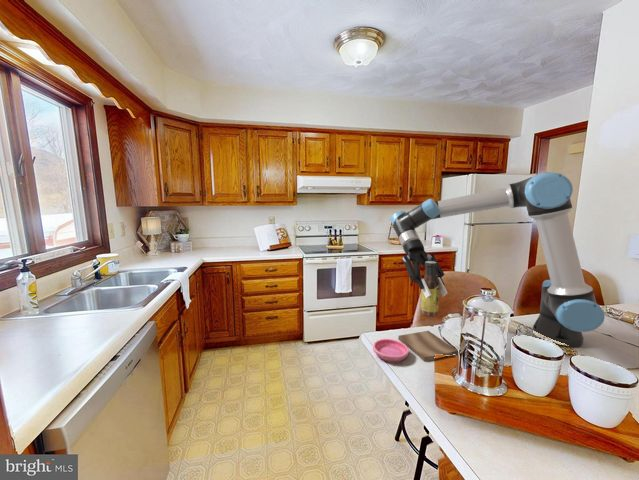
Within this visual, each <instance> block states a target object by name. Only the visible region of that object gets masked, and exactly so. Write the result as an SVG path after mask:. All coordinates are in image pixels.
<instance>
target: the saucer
mask: <svg viewBox="0 0 639 480" xmlns="http://www.w3.org/2000/svg"><path fill="white" fill-rule="evenodd" d="M372 350H373V351H374V353H375V355H377V356H378V358H380V360H383V361H385V362H389V363H399V362H402V361H403V360H404V359H406V358H407V357H408V356H409V354H410V349H409V348H408V347H407V346H406V345H405V344H404V343H402V342H401V341H400V340H397V339H393V338H382V339H379V340H376V341H374V342H373V345H372Z"/></svg>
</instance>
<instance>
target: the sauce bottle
mask: <svg viewBox="0 0 639 480" xmlns="http://www.w3.org/2000/svg"><path fill="white" fill-rule="evenodd" d="M437 262H438V261H437ZM437 262H434V261H426V262H425V267H424V269H425V271H424V273H425V274H424V275H423V276H422V277H421V279H424V280H425V282H426V284H427V286H428V289H429V291H430V293H431V296H430V297H429V298H425V295H424V293H423V291H422V289H420V313H421V314H422V315H423V316H426V317H430V318H431V317H432V318H433V317H437V316H438V315H439V306H440V305H439V303H440V292H439V281H438V278H437V275H436V266H437Z"/></svg>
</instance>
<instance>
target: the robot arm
mask: <svg viewBox="0 0 639 480" xmlns="http://www.w3.org/2000/svg"><path fill="white" fill-rule="evenodd" d="M573 189H574V188H573V184H572V182H571V180H570V179H569V178H568V177H567V176H566V175H563V174H562V173H559V172H553V171H551V172H548V171H547V172H541V173H539V174H536V175H533V176H530V177H528V178H526V179H523V180H520V181H517V182H513V183H508V184H507V185H506V186H505V187H502V188H497V189H496V188H495V189H491V190H487V191H486V190H485V191H482V192H477V193H472V194H467V195H462V196H456V197H452V198H447V199H443V200H438V201H435V200H434V199H433V198H428V199H426V200H425V201H423V202H422V203H420V204H418V205H417V206H416V207H414V208H412V209H411V210H409V211H408V212H406V211H404V210H400V211H396V212H395V213H393V214H392V215H391V218H390V222H391V224H392V228H393V230H394V232H395V234H396V235H397V237H398V240H399V242H400V244H401V247H402V249H403V251H404V254H405V255H404V256H403V257H402V258H401V261H402V262H403V264H404V266H405V269H406V273H408V278H409V280H410V282H413V281H414V283H415V284H417V285H418V288H419V289H420V290H421V289H422V291H423V293H424V295H425V298H429V297H430V296H431V293H430V291H429V289H428V286H427V284H426V282H425V280H424V279H422V273H421V266H423V268H425V262H426V261H434V262H437V266H436V275H437V278H438V281H439V295H441V297H445V296H446V295H447V294H448V293H449V292H448V291H447V289H446V286H445V285H446V284H445V282H444V280H443V279H442V278H443V277H444V276H445V272H444V271H443V269H442V268H441V266H440V264H439V262H438V261H437V259H436V257H435V254H434V253H431V254H429V253H427V252H426V251H425V246H424V243H423V242H422V240H421V238H420V236H419V234H418V233H417V230H416V229H417V228H418V227H420V226H422V225H424V224H425V223H428V222H429V221H431V220H436V219H441V218H447V217H452V216H459V215H465V214H470V213H471V214H472V213H476V212H481V211H483V212H484V211H489V210H493V209H494V210H495V209H499V208H500V209H501V208H506V207H508V208H510V209H516V208H522V207H523V208H525V207H526V211H527V216H528V218H531V219H533V220H534V221H535V223H536V229H537V232H538V236H539V239H540V243H541V247H542V253H543V256H544V260H545V263H546V264H545V265H546V269H547V273H548V276H549V277H548V278H549V279H545V280H544V281H542V284H541V285H542V286H541V296H540V297H541V298H540V306H539V314H538V317H537V318H536V321H535V322H534V324H533V325H532V330H534V331H536V332H538V333H540V334H542V335H544V336H546V337H549V338H551V339H553V340H556V341H559V342H561V343H565V344H567V345H569V346H571V347H570V348H579V347H582V346H583V344H584V336H583V333H588V332H591V331H594V330H597V329H598V328H599V327H600V326H601V325H603V324H604V321H605V319H606V318H605V312H604V310H603V309H602V307H601V305H600V304H598V303H597V301H596V297H595V296H596V295H595V293H594V289H593V287H592V286H591V285H590V284H587V283H586V281H585V278H584V274H583V270H582V266H581V262H580V259H579V258H580V257H579V255H578V250H577V247H576V242H575V238H574V233H573V230H572V226H571V222H570V217H569V213H570V212H571V211H572V209H573V205H572V199H571V197H572V194H573V191H574V190H573ZM420 265H421V266H420Z"/></svg>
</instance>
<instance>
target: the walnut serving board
mask: <svg viewBox="0 0 639 480" xmlns="http://www.w3.org/2000/svg"><path fill="white" fill-rule="evenodd" d="M397 339H398V341H400V342H402V343H404V344H405V345H406V346H407V347H408V349H409V351H412V352H413V353H414V354H415V355H416V356H417V357H418V358H420V359H421V360H422V362H423V361H424V362H428V361H434V360H435V359H434V357H435V354H443V355H453V354H459V350H458V349H457V348H455V347H453V346H452V345H451V344H449V343H448V342H446V341H445V340H443V339H442V338H440V337H439V336H437V335H435V334H434V333H432V332H431V331H430V330H424V331H418V332H413V333H405V334H400V335H398V338H397ZM453 356H454V355H453Z"/></svg>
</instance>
